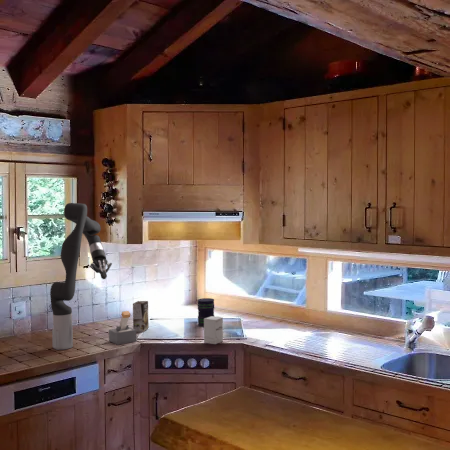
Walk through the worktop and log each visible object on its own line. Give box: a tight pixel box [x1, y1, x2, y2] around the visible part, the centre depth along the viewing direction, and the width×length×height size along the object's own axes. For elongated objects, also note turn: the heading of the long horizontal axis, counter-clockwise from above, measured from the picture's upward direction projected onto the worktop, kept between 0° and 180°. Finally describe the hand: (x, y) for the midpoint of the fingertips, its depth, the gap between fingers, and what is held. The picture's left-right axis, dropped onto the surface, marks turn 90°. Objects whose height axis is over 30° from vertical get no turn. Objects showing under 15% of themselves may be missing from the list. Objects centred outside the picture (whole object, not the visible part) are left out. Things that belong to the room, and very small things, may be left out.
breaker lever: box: [118, 310, 131, 330], centre depth 291 cm, size 3×4×11 cm
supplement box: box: [203, 315, 224, 345], centre depth 288 cm, size 7×7×13 cm
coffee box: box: [132, 300, 150, 333], centre depth 317 cm, size 9×6×16 cm
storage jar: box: [197, 297, 215, 328], centre depth 327 cm, size 10×10×15 cm
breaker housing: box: [108, 324, 138, 346], centre depth 293 cm, size 10×11×8 cm
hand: (104, 278), depth 306 cm, fingers closed
